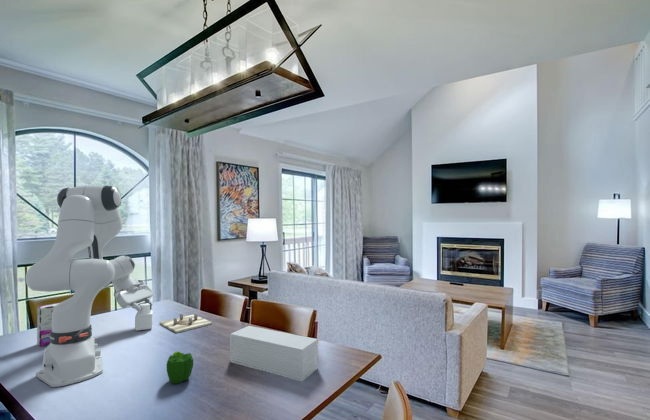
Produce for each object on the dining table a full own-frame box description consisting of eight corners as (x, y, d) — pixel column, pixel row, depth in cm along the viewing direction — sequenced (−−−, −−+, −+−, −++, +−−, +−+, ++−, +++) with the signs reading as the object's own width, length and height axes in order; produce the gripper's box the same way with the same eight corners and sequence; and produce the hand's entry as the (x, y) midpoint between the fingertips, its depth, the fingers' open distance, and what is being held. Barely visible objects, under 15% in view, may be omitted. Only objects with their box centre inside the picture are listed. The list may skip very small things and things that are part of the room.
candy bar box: (68, 337, 147) (69, 300, 148) (71, 339, 144) (72, 302, 145) (36, 344, 139) (37, 306, 139) (39, 347, 136) (40, 308, 136)
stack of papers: (229, 362, 122) (230, 333, 122) (248, 352, 131) (249, 325, 132) (302, 382, 107) (302, 349, 108) (317, 369, 117) (317, 339, 117)
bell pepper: (185, 371, 114) (185, 343, 114) (197, 379, 109) (197, 349, 109) (160, 380, 108) (161, 350, 108) (172, 389, 102) (172, 357, 103)
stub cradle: (211, 324, 166) (211, 316, 166) (176, 333, 153) (176, 324, 153) (193, 316, 179) (194, 308, 180) (159, 323, 166) (159, 316, 166)
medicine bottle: (136, 326, 160) (137, 302, 161) (152, 324, 163) (153, 300, 164) (135, 330, 154) (135, 305, 154) (151, 328, 157) (152, 303, 157)
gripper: (116, 287, 150) (135, 309, 149) (145, 279, 170) (162, 299, 169) (107, 297, 150) (126, 319, 149) (137, 288, 171) (154, 307, 169)
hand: (145, 308), depth 159 cm, fingers closed on medicine bottle, 6 cm apart
